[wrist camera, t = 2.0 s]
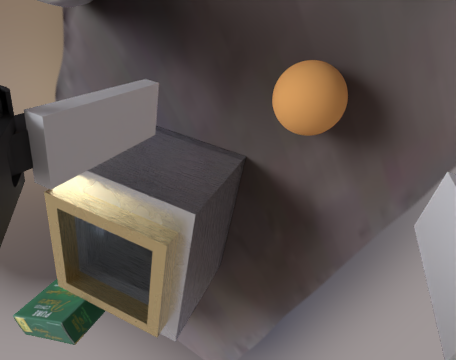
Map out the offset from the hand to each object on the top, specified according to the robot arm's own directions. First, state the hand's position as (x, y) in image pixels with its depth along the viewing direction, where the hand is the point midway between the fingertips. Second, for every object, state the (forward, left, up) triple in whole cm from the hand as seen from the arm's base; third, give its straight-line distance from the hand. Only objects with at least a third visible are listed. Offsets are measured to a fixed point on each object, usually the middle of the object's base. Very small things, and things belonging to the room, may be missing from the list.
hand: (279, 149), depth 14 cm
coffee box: (+24, -16, -12) cm, 31 cm away
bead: (0, 0, -12) cm, 12 cm away
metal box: (+14, -12, -12) cm, 22 cm away
